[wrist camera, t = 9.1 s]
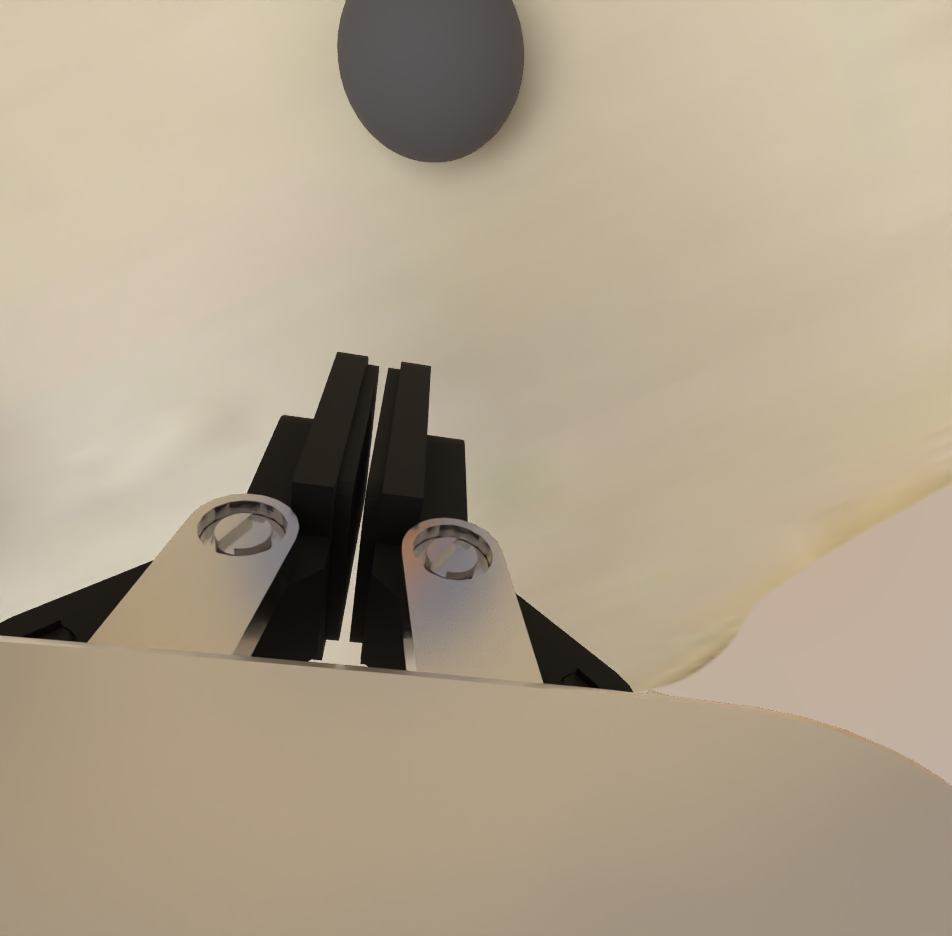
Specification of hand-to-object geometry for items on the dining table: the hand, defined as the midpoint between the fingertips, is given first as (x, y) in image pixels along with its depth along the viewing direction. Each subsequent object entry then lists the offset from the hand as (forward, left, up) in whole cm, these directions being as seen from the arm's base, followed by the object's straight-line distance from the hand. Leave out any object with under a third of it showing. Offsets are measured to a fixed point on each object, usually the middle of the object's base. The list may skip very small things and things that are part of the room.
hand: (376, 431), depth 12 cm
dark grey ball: (+3, -5, -12) cm, 14 cm away
